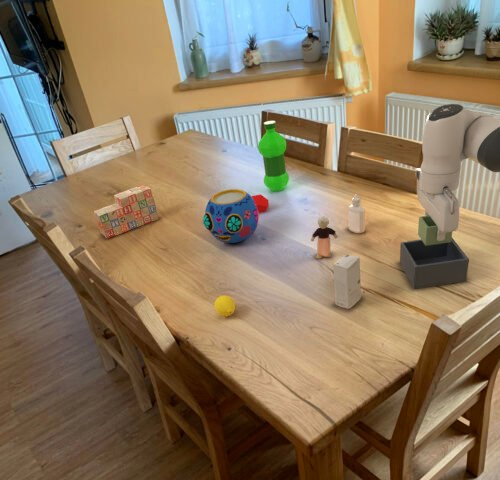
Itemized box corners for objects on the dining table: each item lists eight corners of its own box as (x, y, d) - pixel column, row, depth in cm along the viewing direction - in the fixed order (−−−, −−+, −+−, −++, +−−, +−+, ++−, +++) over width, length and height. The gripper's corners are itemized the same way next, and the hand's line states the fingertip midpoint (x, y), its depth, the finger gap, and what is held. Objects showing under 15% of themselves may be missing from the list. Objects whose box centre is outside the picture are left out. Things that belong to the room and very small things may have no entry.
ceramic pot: (200, 249, 164) (190, 207, 155) (225, 224, 176) (217, 184, 167) (248, 254, 157) (240, 210, 147) (270, 228, 168) (264, 185, 159)
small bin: (442, 230, 130) (444, 213, 127) (451, 242, 125) (453, 223, 121) (417, 234, 130) (419, 216, 127) (425, 245, 125) (426, 227, 122)
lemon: (212, 311, 134) (208, 295, 131) (230, 304, 136) (227, 288, 132) (222, 324, 129) (218, 307, 126) (241, 316, 130) (238, 300, 127)
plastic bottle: (292, 182, 197) (285, 116, 182) (287, 193, 189) (280, 125, 174) (267, 183, 200) (259, 119, 184) (262, 194, 192) (253, 128, 176)
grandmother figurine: (314, 261, 147) (311, 222, 139) (311, 255, 150) (308, 216, 142) (339, 255, 147) (338, 216, 140) (336, 250, 150) (334, 211, 143)
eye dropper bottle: (352, 235, 156) (351, 199, 149) (347, 227, 160) (346, 192, 153) (365, 232, 156) (365, 196, 149) (361, 225, 160) (360, 189, 153)
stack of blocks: (107, 239, 181) (95, 208, 173) (101, 234, 185) (90, 203, 178) (159, 218, 189) (150, 187, 181) (152, 214, 193) (143, 183, 185)
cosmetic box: (349, 310, 126) (348, 269, 118) (334, 305, 128) (332, 264, 121) (361, 297, 129) (361, 257, 122) (347, 293, 132) (345, 253, 124)
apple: (272, 192, 179) (250, 186, 178) (270, 203, 174) (247, 198, 174) (268, 207, 184) (247, 202, 184) (265, 218, 180) (244, 213, 179)
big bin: (447, 256, 138) (450, 234, 134) (466, 281, 128) (469, 259, 124) (399, 263, 139) (400, 242, 135) (413, 289, 129) (415, 267, 125)
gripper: (469, 194, 109) (462, 249, 118) (438, 163, 126) (434, 213, 134) (440, 199, 110) (435, 253, 118) (413, 167, 126) (410, 217, 134)
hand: (434, 232), depth 126 cm, fingers closed on small bin, 6 cm apart
